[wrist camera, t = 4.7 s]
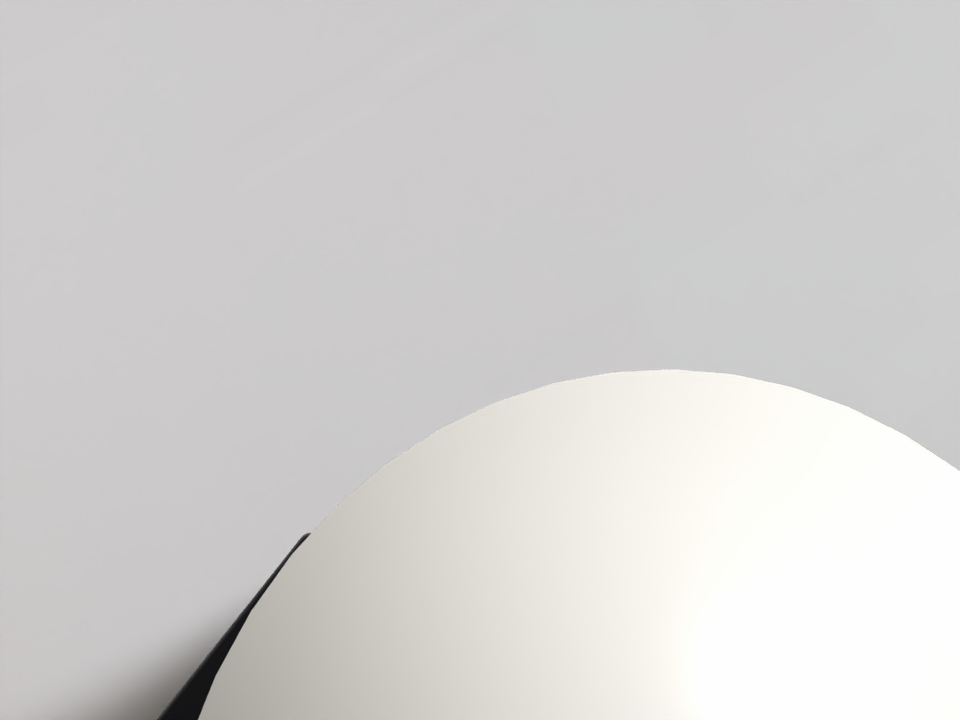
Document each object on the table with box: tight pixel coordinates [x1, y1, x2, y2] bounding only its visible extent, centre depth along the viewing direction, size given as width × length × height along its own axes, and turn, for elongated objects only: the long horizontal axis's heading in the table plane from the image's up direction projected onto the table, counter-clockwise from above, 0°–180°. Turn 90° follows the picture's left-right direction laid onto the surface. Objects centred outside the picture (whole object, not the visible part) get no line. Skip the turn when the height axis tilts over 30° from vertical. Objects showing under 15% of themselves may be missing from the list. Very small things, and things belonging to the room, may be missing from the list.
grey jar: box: [198, 369, 960, 720], centre depth 10 cm, size 6×6×12 cm
